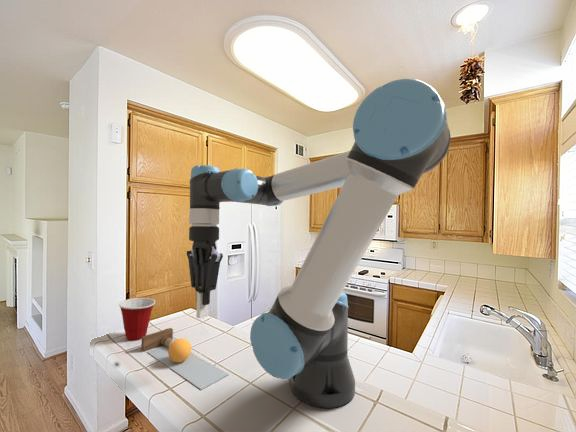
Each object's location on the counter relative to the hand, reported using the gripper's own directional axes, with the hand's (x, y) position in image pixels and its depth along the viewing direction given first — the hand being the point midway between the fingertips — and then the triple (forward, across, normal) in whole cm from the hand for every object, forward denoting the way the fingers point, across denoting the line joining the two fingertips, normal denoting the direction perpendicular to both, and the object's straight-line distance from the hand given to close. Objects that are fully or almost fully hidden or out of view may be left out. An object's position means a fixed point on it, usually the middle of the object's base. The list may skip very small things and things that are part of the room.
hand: (202, 316), depth 68 cm
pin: (+13, +15, -2) cm, 20 cm away
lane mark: (+14, +8, 0) cm, 16 cm away
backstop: (+14, +24, 0) cm, 28 cm away
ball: (+11, +10, 0) cm, 15 cm away
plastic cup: (+15, +36, +2) cm, 38 cm away
